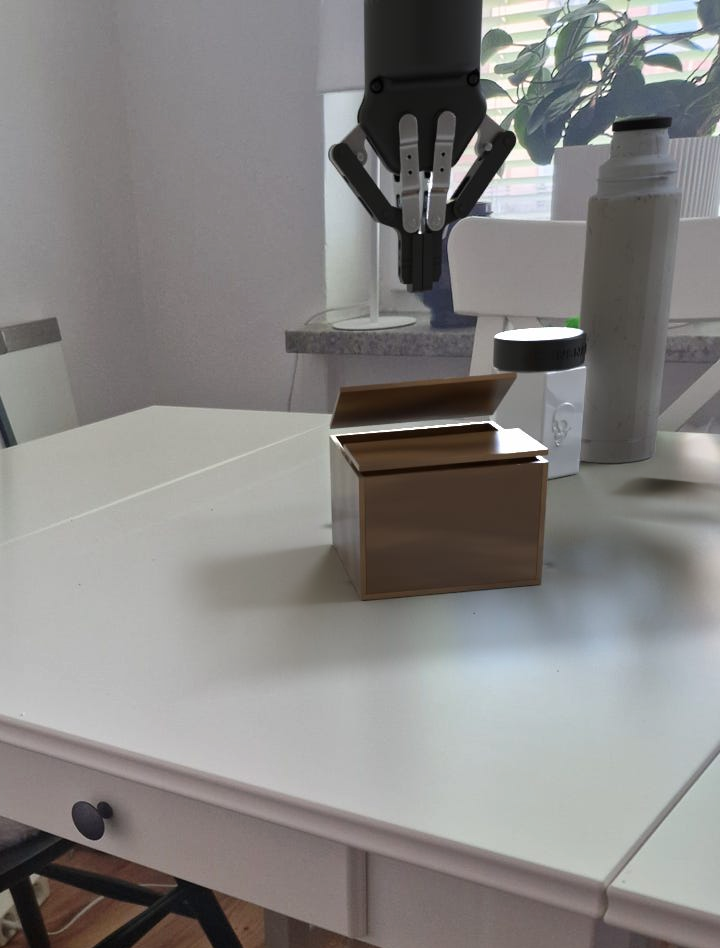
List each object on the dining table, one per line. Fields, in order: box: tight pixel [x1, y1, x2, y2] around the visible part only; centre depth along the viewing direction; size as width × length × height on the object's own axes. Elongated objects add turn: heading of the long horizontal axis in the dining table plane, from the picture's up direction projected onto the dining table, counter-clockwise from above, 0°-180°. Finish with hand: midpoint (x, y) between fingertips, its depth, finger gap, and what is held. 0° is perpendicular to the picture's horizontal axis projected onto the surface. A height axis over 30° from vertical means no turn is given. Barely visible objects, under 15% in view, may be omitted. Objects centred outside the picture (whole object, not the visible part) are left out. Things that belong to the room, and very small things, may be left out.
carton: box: [328, 420, 549, 601], centre depth 86 cm, size 15×13×9 cm
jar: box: [489, 327, 587, 481], centre depth 107 cm, size 9×8×12 cm
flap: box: [329, 372, 517, 430], centre depth 86 cm, size 7×13×1 cm, turn 94°
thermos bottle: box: [579, 115, 683, 464], centre depth 107 cm, size 8×8×28 cm
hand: (419, 291), depth 83 cm, fingers closed
